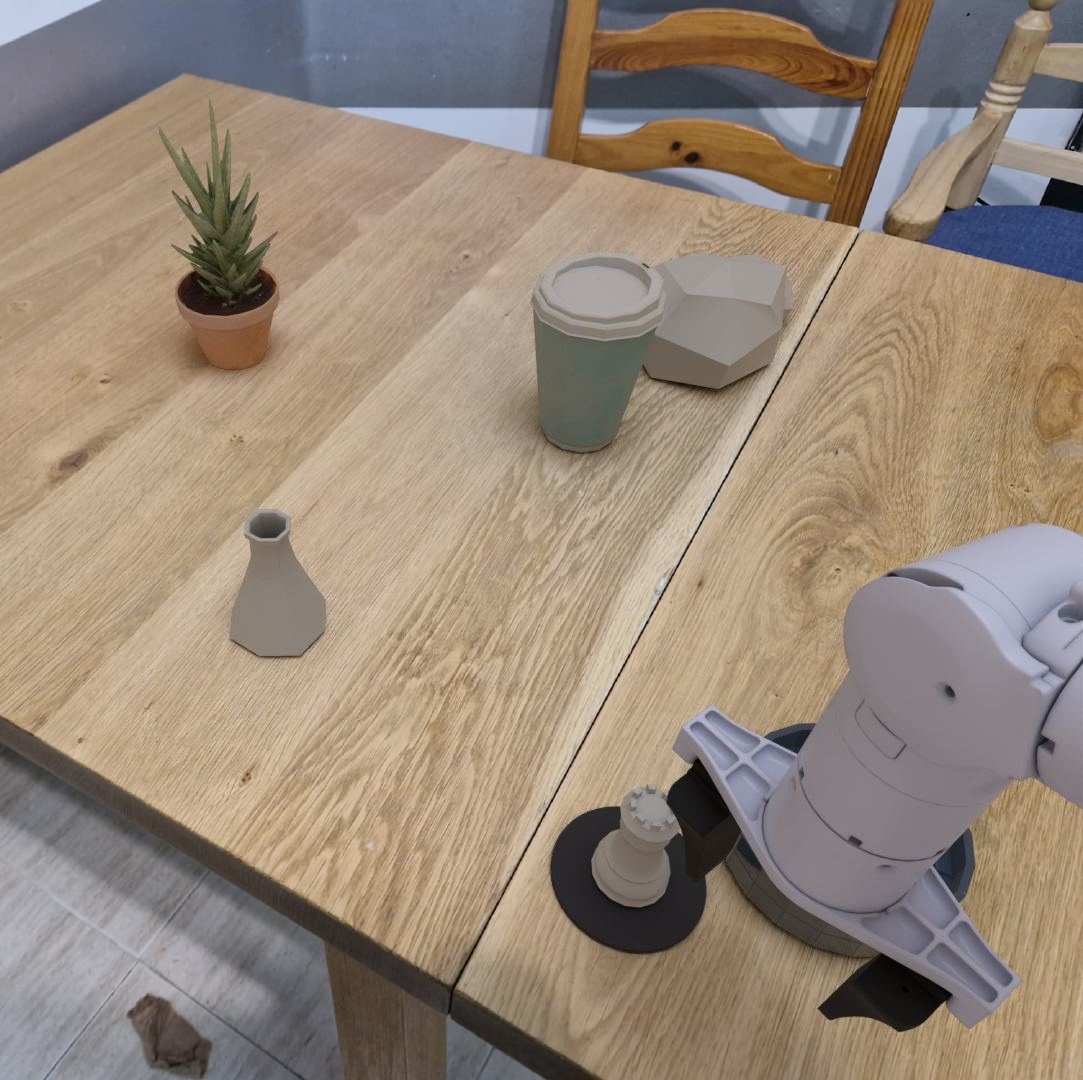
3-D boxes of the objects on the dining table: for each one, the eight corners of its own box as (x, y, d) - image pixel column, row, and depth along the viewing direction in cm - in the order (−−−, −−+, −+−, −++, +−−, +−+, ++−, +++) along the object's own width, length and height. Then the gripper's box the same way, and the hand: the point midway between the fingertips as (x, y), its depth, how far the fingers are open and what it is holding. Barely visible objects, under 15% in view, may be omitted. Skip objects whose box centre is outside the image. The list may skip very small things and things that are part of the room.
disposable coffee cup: (558, 483, 84) (584, 330, 73) (492, 411, 90) (506, 262, 80) (662, 446, 87) (701, 294, 76) (590, 379, 94) (617, 232, 83)
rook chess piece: (584, 898, 58) (606, 831, 52) (595, 831, 61) (617, 759, 55) (663, 920, 57) (694, 853, 51) (670, 850, 60) (700, 780, 54)
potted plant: (180, 383, 94) (133, 121, 76) (191, 326, 101) (150, 72, 83) (287, 381, 94) (264, 118, 76) (290, 323, 101) (270, 70, 83)
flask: (252, 575, 77) (238, 478, 70) (341, 596, 75) (336, 499, 68) (213, 646, 72) (194, 550, 65) (307, 670, 70) (299, 574, 63)
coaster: (737, 893, 59) (739, 890, 58) (629, 986, 55) (630, 983, 55) (624, 783, 64) (625, 780, 63) (518, 862, 60) (519, 859, 60)
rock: (575, 307, 102) (589, 219, 95) (750, 276, 106) (776, 189, 99) (661, 414, 90) (684, 322, 83) (855, 375, 93) (893, 283, 87)
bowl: (991, 873, 59) (1021, 840, 56) (856, 1008, 54) (882, 979, 51) (806, 724, 67) (825, 688, 64) (672, 830, 61) (686, 796, 59)
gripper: (1135, 880, 34) (959, 1011, 44) (787, 609, 42) (705, 772, 52) (1021, 1008, 31) (861, 1116, 41) (671, 692, 39) (608, 847, 49)
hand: (767, 930), depth 47 cm, fingers open, 7 cm apart
